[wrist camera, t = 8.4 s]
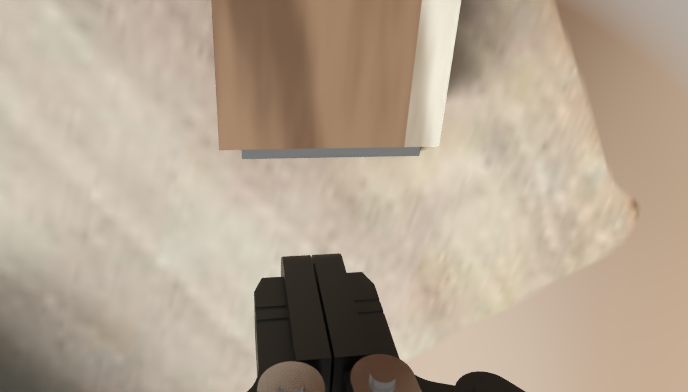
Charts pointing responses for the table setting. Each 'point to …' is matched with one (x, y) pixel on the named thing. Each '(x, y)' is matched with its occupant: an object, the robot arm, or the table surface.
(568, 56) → the table surface
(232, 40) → the brown and cream block
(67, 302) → the table surface
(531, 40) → the table surface
